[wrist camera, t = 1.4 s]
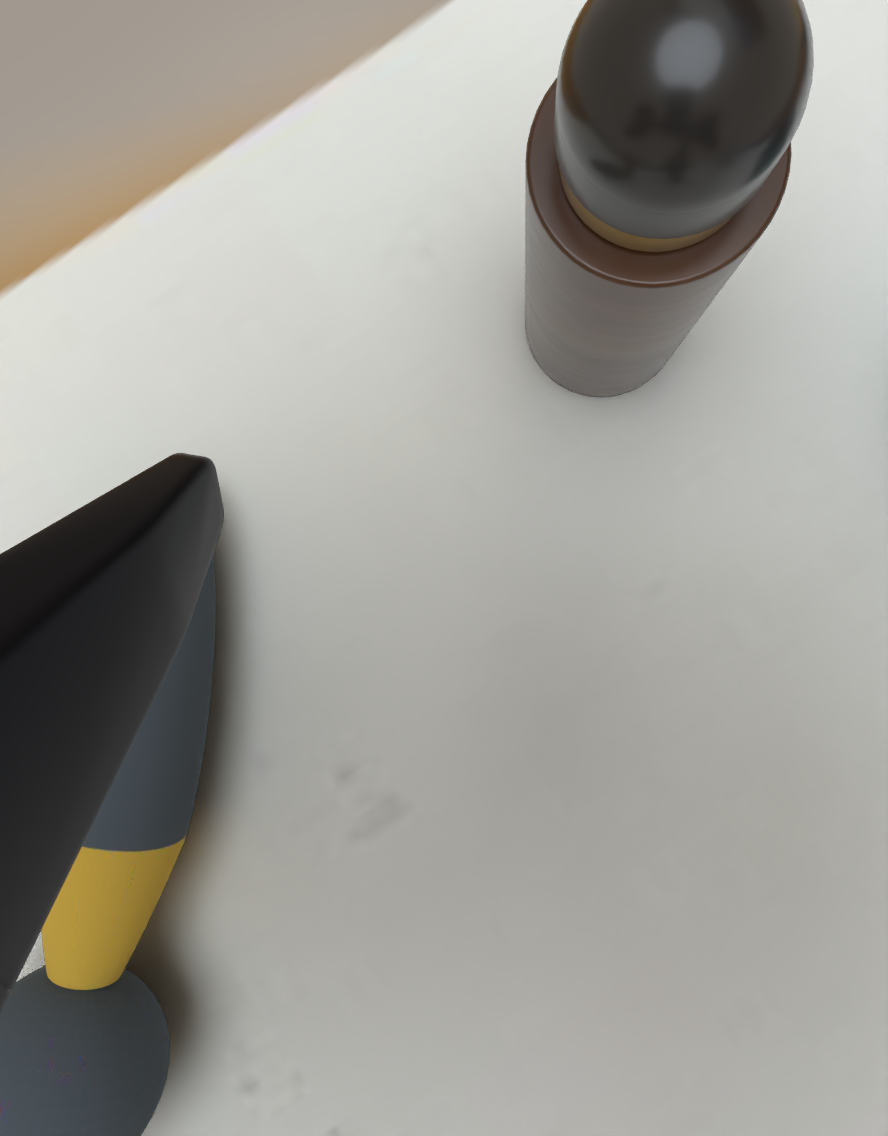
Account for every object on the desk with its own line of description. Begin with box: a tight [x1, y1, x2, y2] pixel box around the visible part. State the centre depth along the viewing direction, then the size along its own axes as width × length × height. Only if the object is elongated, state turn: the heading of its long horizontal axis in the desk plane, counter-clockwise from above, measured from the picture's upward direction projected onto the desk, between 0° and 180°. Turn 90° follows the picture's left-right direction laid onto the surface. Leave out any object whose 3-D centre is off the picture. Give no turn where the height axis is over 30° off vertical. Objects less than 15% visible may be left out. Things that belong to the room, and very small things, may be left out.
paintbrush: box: [0, 555, 216, 1136], centre depth 21 cm, size 20×5×5 cm, turn 175°
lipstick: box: [525, 0, 813, 397], centre depth 15 cm, size 4×4×12 cm
